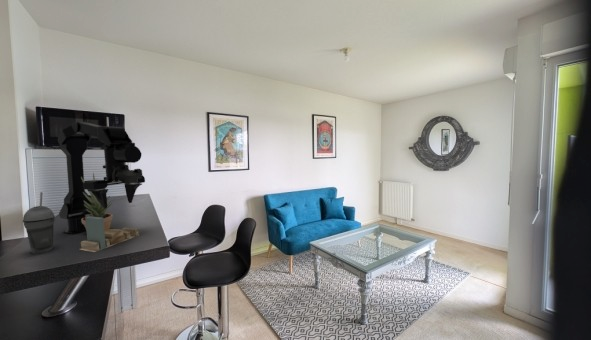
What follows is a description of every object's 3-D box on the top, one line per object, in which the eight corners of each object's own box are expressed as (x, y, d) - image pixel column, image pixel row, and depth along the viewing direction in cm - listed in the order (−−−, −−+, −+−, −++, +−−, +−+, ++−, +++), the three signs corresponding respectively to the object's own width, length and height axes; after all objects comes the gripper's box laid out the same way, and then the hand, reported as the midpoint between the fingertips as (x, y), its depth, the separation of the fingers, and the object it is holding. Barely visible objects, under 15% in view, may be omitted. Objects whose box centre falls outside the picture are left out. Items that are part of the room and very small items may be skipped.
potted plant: (76, 238, 94) (70, 173, 92) (99, 230, 104) (95, 170, 101) (98, 240, 92) (93, 173, 90) (120, 231, 102) (116, 170, 100)
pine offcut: (112, 239, 85) (111, 234, 85) (99, 238, 86) (98, 233, 86) (123, 234, 89) (123, 229, 89) (110, 233, 90) (110, 229, 90)
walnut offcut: (111, 245, 84) (110, 239, 84) (98, 243, 86) (97, 238, 86) (125, 239, 89) (124, 234, 89) (112, 238, 91) (112, 233, 91)
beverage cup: (35, 251, 83) (28, 191, 81) (63, 248, 85) (57, 189, 83) (20, 260, 76) (13, 195, 74) (51, 256, 79) (44, 193, 77)
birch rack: (95, 255, 79) (94, 244, 79) (79, 252, 81) (78, 242, 81) (140, 237, 94) (139, 228, 94) (126, 236, 96) (125, 226, 96)
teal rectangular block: (101, 249, 81) (98, 219, 80) (87, 247, 83) (85, 217, 82) (105, 247, 82) (103, 217, 81) (92, 245, 84) (90, 216, 83)
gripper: (104, 164, 78) (108, 213, 79) (154, 161, 96) (157, 201, 97) (79, 163, 81) (83, 211, 83) (132, 160, 99) (135, 199, 100)
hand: (118, 205), depth 91 cm, fingers open, 9 cm apart
